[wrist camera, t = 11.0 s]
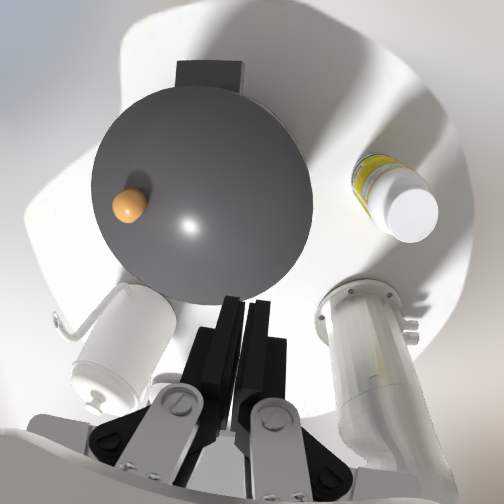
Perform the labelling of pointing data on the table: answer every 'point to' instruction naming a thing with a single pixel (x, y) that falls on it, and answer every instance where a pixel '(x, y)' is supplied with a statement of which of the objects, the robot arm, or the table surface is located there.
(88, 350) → the coffeepot
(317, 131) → the table surface
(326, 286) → the table surface
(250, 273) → the cooker lid
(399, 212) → the pill bottle
